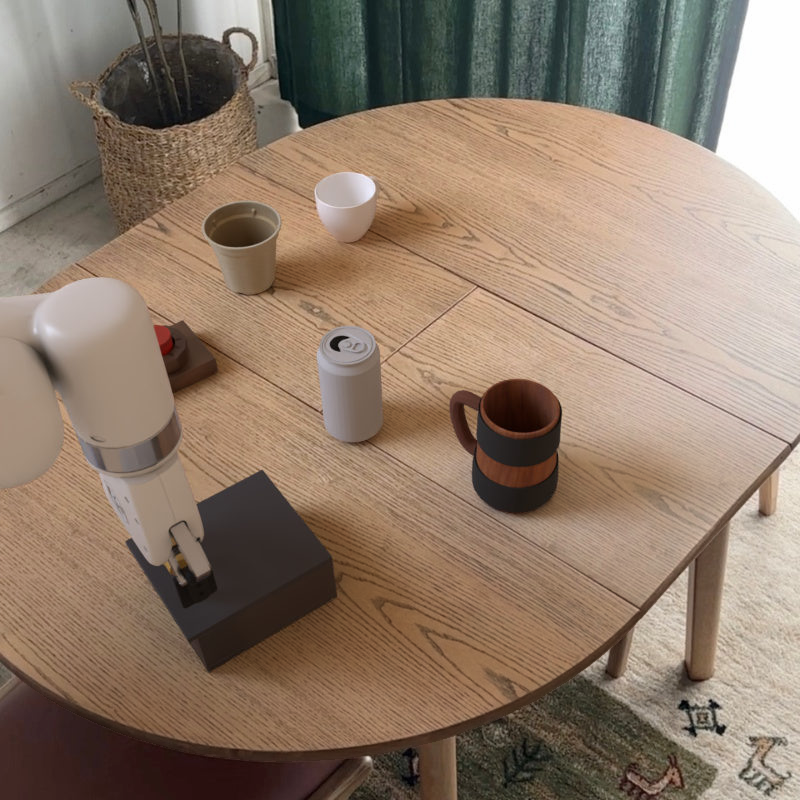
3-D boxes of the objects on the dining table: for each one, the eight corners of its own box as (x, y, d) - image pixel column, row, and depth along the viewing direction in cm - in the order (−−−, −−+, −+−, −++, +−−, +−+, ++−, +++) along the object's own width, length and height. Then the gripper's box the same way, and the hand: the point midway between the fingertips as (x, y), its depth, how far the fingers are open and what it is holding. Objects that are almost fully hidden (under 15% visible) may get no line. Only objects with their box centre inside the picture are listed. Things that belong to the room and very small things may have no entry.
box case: (208, 673, 94) (197, 638, 90) (147, 577, 101) (134, 541, 97) (337, 596, 99) (332, 560, 95) (270, 510, 107) (263, 473, 102)
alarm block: (138, 410, 117) (130, 384, 114) (108, 369, 121) (100, 343, 118) (218, 372, 120) (212, 346, 118) (186, 333, 125) (180, 308, 122)
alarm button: (149, 362, 116) (146, 351, 115) (135, 344, 119) (131, 333, 117) (178, 349, 118) (175, 338, 117) (164, 331, 120) (161, 320, 119)
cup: (306, 236, 137) (301, 193, 132) (356, 199, 143) (353, 156, 138) (351, 259, 134) (348, 215, 129) (401, 220, 139) (400, 177, 134)
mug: (471, 428, 113) (473, 348, 105) (571, 474, 109) (582, 395, 100) (427, 480, 109) (426, 402, 100) (530, 532, 104) (538, 453, 95)
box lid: (189, 643, 90) (176, 605, 85) (126, 544, 97) (111, 504, 93) (332, 560, 95) (327, 520, 91) (263, 473, 102) (255, 432, 98)
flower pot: (304, 274, 132) (297, 217, 126) (253, 315, 127) (244, 258, 121) (248, 247, 136) (239, 191, 130) (197, 286, 131) (185, 229, 125)
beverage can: (339, 397, 117) (331, 316, 108) (393, 412, 115) (389, 331, 107) (314, 437, 113) (304, 356, 104) (369, 453, 111) (363, 372, 103)
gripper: (38, 382, 83) (93, 515, 95) (132, 526, 73) (180, 653, 85) (126, 342, 86) (168, 476, 98) (228, 475, 76) (260, 606, 88)
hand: (173, 558), depth 92 cm, fingers open, 9 cm apart
